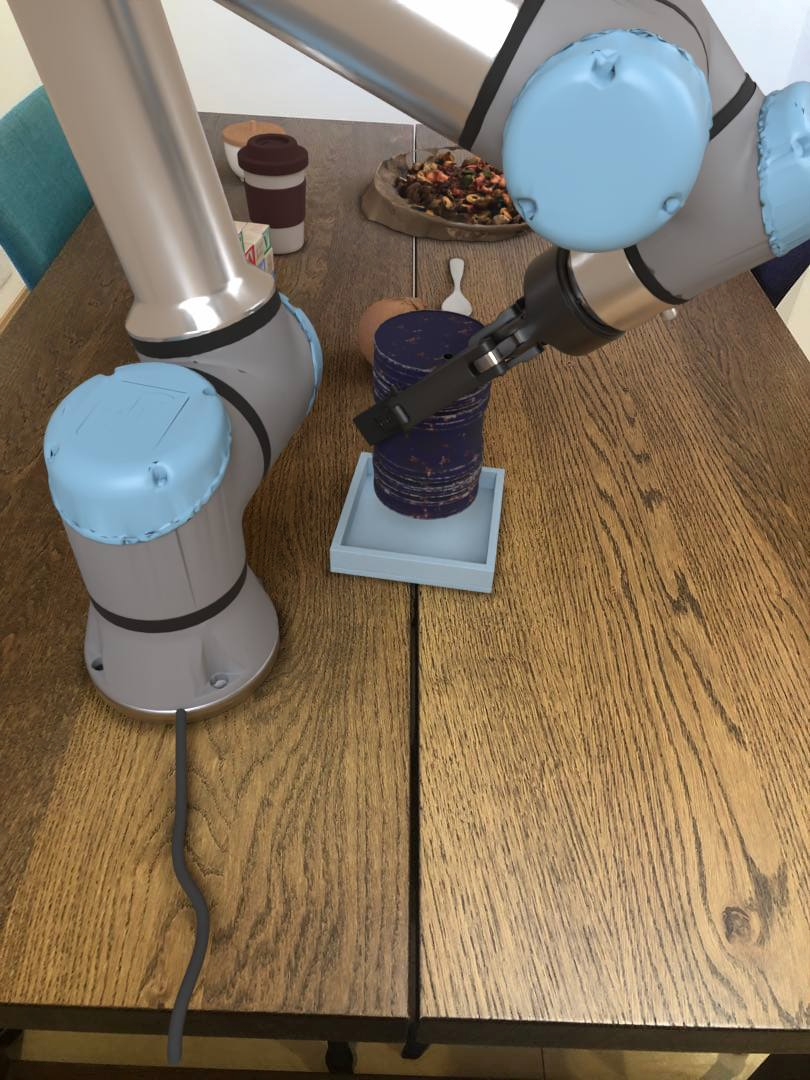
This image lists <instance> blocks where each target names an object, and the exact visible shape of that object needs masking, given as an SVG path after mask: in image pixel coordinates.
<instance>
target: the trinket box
mask: <svg viewBox="0 0 810 1080" xmlns="http://www.w3.org/2000/svg"><path fill="white" fill-rule="evenodd" d="M266 133H277V134H285V135H287V131H286V130H285V128H284V127H282V126H281V125H278V124H277V123H273V122H267V121H257V120H256V119H250V120H249V121H241V122H237V123H233V124H229V125H227V126H226V127H224V128H223V129H222V130H221V138H222V140H223V149H224V154H225V157H226V161H227V163H228V165H229V167H230V169H231V171H233V173H234V174H235V176H237V177H239V178H240V181H241V182H243V183H244V171H243V169H241V168H240V167H239V165H238V158H237V153H238V151H239V150H240V149H241V148H242V147H244V146H246V145H247V141H248V140H249V139H250V138H251V137H253V136H256V135H259V134H266Z"/></svg>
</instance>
